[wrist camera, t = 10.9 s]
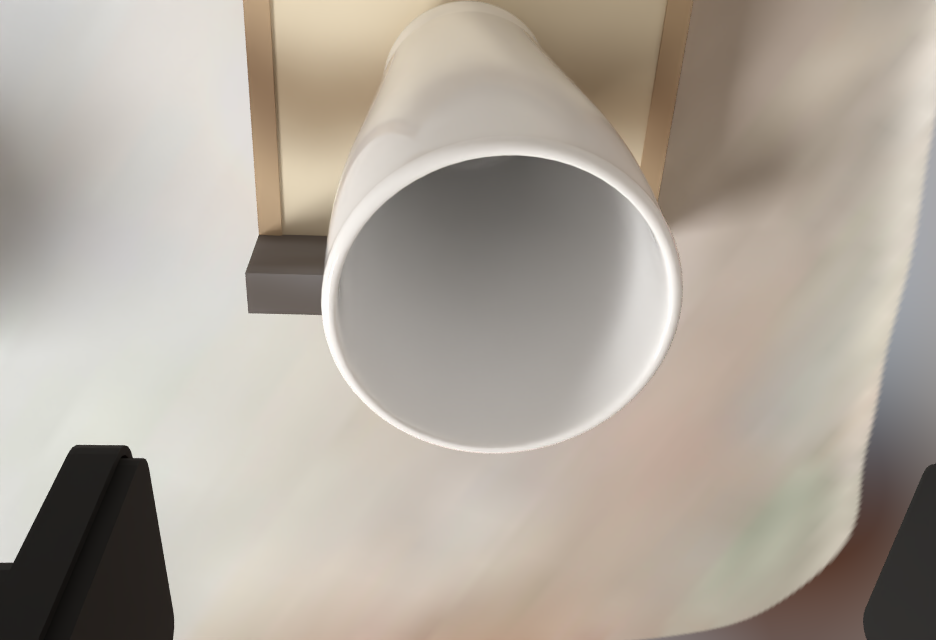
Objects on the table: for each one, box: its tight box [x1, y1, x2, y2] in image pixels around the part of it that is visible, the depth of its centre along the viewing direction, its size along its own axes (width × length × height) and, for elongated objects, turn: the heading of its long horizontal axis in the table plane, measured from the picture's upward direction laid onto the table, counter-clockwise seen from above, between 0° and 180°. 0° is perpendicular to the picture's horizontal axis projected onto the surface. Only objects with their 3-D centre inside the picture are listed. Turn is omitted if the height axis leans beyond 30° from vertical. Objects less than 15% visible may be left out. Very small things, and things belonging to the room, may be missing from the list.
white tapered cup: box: [321, 1, 683, 454], centre depth 22 cm, size 7×7×15 cm
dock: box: [243, 0, 693, 315], centre depth 29 cm, size 14×14×6 cm
